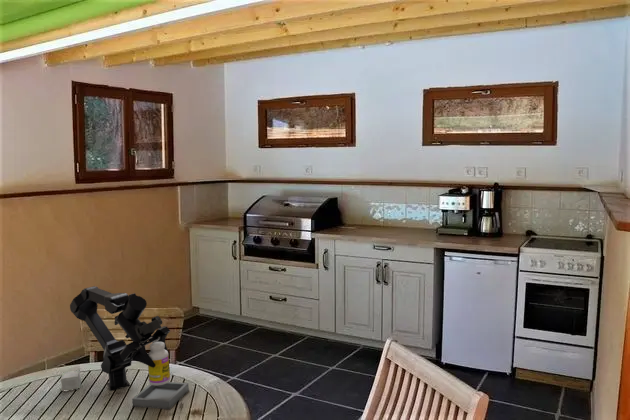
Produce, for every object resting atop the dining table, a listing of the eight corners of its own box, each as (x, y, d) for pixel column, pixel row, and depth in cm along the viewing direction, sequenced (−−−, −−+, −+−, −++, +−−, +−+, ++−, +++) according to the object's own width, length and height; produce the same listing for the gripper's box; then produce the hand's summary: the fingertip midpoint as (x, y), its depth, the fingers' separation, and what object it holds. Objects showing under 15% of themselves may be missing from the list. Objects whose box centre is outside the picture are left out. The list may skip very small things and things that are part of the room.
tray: (132, 406, 168) (132, 398, 168) (154, 387, 180) (153, 380, 180) (169, 409, 165) (168, 401, 164) (188, 390, 177) (188, 383, 177)
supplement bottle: (164, 387, 168) (161, 348, 167) (145, 386, 170) (142, 347, 168) (174, 377, 175) (171, 340, 173) (155, 376, 176) (152, 340, 174)
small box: (64, 385, 186) (62, 372, 186) (81, 382, 188) (80, 369, 187) (61, 392, 181) (60, 378, 180) (79, 389, 182) (78, 375, 182)
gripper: (123, 320, 162) (154, 359, 159) (163, 302, 179) (192, 337, 176) (106, 342, 166) (136, 380, 163) (147, 322, 183) (175, 357, 180)
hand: (161, 362), depth 171 cm, fingers closed on supplement bottle, 7 cm apart
